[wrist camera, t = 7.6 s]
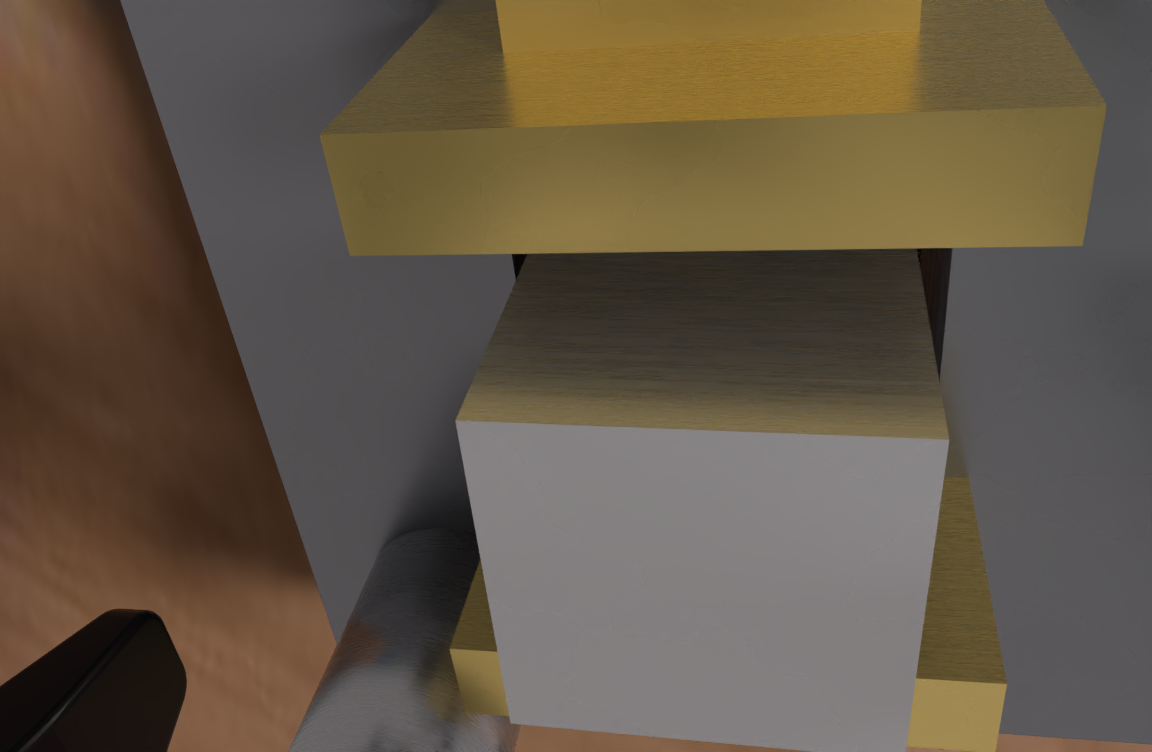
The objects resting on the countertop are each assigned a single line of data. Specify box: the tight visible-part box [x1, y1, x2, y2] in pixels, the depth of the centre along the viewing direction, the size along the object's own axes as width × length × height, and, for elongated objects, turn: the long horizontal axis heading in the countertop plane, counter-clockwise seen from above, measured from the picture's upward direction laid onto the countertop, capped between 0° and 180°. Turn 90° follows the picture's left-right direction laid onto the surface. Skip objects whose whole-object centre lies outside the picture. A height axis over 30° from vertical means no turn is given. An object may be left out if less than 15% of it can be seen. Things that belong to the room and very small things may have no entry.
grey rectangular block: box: [455, 248, 949, 752], centre depth 13 cm, size 4×4×8 cm
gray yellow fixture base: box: [120, 0, 1152, 752], centre depth 13 cm, size 14×16×8 cm
